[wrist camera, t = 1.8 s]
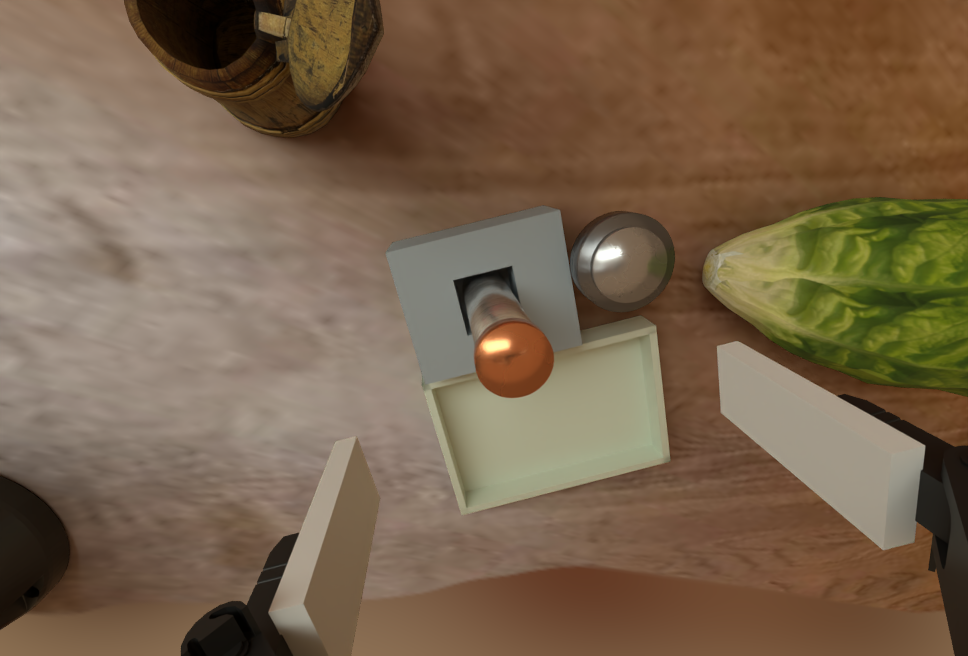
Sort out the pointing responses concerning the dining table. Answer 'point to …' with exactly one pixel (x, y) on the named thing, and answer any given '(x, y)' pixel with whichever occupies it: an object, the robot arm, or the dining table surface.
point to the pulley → (622, 260)
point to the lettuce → (858, 288)
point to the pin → (505, 338)
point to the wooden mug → (264, 54)
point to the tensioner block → (474, 250)
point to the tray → (556, 421)
